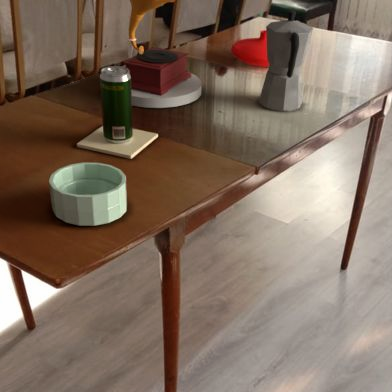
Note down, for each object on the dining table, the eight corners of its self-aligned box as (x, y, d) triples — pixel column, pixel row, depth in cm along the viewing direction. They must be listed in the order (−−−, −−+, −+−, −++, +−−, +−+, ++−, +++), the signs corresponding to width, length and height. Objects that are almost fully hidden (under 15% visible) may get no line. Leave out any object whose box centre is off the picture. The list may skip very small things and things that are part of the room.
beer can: (136, 143, 114) (134, 74, 106) (107, 146, 113) (103, 77, 105) (128, 131, 118) (126, 64, 110) (100, 134, 116) (96, 66, 109)
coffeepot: (255, 92, 138) (264, 1, 127) (297, 93, 139) (310, 3, 127) (263, 118, 127) (273, 21, 115) (309, 120, 127) (324, 23, 116)
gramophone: (89, 95, 133) (78, -41, 117) (137, 69, 147) (134, -56, 131) (174, 115, 127) (176, -27, 110) (216, 85, 141) (224, -44, 124)
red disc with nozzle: (297, 57, 159) (301, 26, 155) (289, 76, 148) (293, 44, 143) (237, 50, 162) (239, 20, 157) (224, 68, 150) (226, 36, 146)
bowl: (85, 235, 91) (82, 204, 87) (38, 208, 96) (34, 177, 93) (141, 209, 97) (141, 179, 94) (94, 185, 102) (92, 156, 99)
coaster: (131, 159, 110) (130, 155, 110) (76, 146, 113) (76, 143, 113) (157, 136, 118) (157, 133, 118) (106, 126, 121) (106, 123, 121)
